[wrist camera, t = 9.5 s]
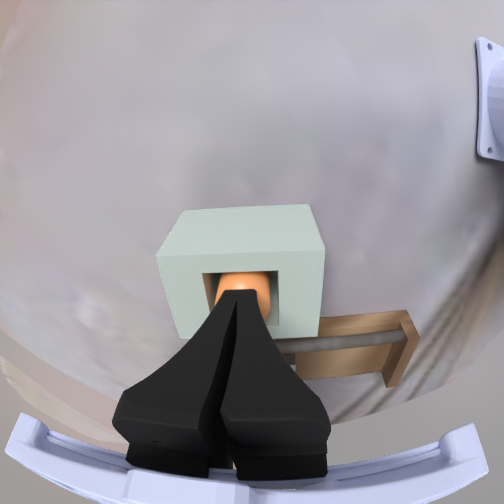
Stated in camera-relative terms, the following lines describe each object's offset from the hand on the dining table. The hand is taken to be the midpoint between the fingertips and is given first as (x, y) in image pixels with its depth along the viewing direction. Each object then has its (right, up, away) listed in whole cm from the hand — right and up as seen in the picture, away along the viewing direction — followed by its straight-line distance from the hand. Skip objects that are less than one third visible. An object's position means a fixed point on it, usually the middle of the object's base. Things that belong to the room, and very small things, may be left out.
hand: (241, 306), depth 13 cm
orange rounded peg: (0, +1, +2) cm, 3 cm away
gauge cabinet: (0, +3, +5) cm, 5 cm away
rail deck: (+5, -5, +9) cm, 11 cm away
